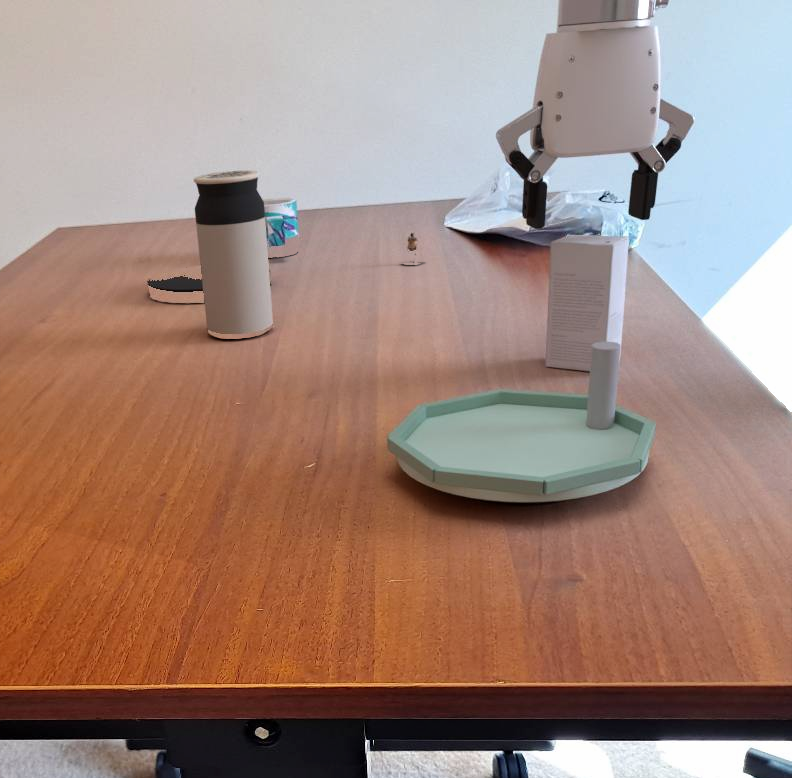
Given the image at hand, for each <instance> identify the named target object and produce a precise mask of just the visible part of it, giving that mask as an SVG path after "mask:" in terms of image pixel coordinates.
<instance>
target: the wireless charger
mask: <svg viewBox="0 0 792 778" xmlns="http://www.w3.org/2000/svg"><path fill="white" fill-rule="evenodd" d="M269 272H270V273H271V269H270V270H269ZM184 276H185V275H184ZM146 283H148V284H147V286H148V285H149V286H151V287H153V288H156V289H160V290H166V291H173V292H193V291H203V284H202V279H201V280H200V279H196V280H195V279H192V278H189V279H188V277H183V276H180V277H174V278H172V279H171V278H170V279H167V280H163V279H162V280H161V281H159V280H157V281H155V280H154V281H153V280H152V281H150V280H149V281H148V280H147V281H146Z"/></svg>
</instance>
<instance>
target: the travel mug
mask: <svg viewBox="0 0 792 778" xmlns="http://www.w3.org/2000/svg"><path fill="white" fill-rule="evenodd" d="M260 175H261V174H260V172H259V171H258V170H228V171H227V170H226V171H217V172H212V173H205V174H200V175H197V176H195V177H194V178H193V182H194V184H196V187H197V192H198V197H197V201H196V203H195V206H194V217H195V225H196V226H195V227H196V236H197V243H198V244H197V245H198V253H199V265H201V274H202V284H203V293H204V312H205V320H206V329H207V328H208V330H210V331H212V332H216V333H220V334H243V333H251V332H257V331H261V330H264V329H266V328H268V327H270V326H271V325H272V324H273V325H274V317H273V316H274V315H273V301H272V290H271V286H270V276H271V275H270V276H269V269H270V266H269V265H270V262H269V259H268V249H267V236H266V222H265V209H264V201H263V200H262V199H263V197H262V196H261V194H260V193H259V191H258V181H259V177H260Z"/></svg>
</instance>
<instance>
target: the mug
mask: <svg viewBox="0 0 792 778" xmlns="http://www.w3.org/2000/svg"><path fill="white" fill-rule="evenodd" d="M262 200H263V201H264V209H265V222H266V236H267V241H268V244H269V247H271V246H281V245H285V239H287V238H291V237H295V236H296V235H297V234H298V235H299V222H298V221H299V220H298V205H297V199H294V198H290V197H274V198H262Z"/></svg>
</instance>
